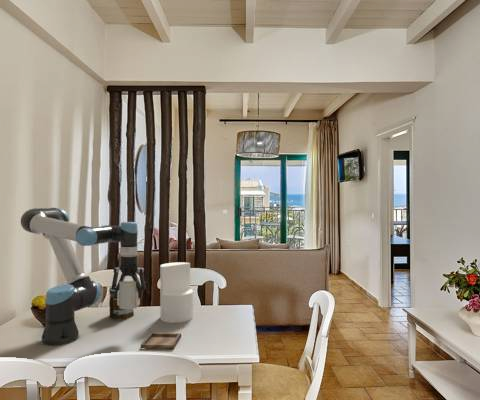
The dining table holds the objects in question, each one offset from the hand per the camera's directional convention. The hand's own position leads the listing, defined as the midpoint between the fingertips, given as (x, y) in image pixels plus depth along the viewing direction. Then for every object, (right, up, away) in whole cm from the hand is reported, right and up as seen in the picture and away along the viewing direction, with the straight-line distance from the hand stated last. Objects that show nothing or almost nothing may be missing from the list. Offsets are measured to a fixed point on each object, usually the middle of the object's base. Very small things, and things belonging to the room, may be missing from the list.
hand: (128, 304), depth 167 cm
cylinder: (+17, -15, +28) cm, 36 cm away
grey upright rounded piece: (0, -1, 0) cm, 1 cm away
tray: (+17, -15, -7) cm, 23 cm away
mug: (-14, -15, +28) cm, 35 cm away
